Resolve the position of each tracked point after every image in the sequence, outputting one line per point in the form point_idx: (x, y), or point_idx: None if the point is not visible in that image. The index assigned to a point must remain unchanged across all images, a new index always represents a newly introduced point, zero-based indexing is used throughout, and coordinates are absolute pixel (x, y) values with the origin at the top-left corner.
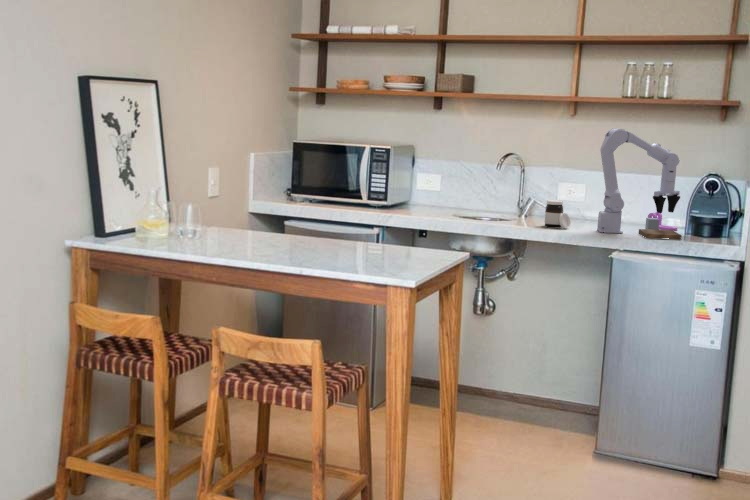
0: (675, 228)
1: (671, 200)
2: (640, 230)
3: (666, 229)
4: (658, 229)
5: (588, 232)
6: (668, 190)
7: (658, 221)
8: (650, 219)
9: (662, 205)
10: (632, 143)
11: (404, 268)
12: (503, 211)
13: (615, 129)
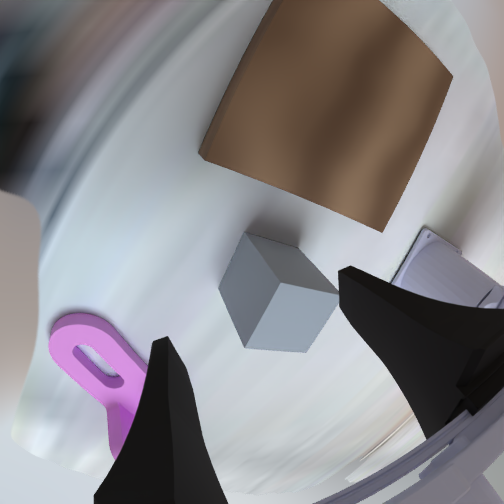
0: (69, 324)
1: (202, 472)
2: (398, 196)
3: (117, 335)
4: (253, 243)
5: (471, 259)
6: (488, 496)
7: (279, 274)
8: (333, 292)
9: (411, 298)
10: None
11: None
12: (355, 474)
13: None
